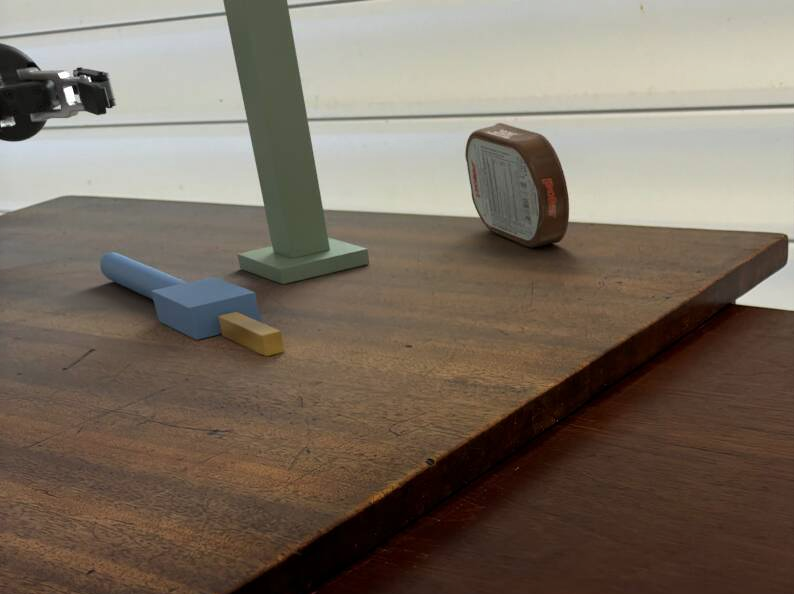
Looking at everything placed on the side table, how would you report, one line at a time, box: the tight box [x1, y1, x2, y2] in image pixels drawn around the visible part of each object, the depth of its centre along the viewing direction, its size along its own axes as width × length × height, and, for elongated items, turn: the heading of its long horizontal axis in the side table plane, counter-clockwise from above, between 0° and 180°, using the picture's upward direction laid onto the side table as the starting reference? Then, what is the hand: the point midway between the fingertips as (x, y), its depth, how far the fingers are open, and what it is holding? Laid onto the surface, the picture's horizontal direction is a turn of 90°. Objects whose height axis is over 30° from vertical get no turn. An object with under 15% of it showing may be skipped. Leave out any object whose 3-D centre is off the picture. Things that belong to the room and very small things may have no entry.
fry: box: [218, 312, 285, 357], centre depth 80 cm, size 7×1×1 cm, turn 38°
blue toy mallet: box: [99, 251, 262, 341], centre depth 90 cm, size 22×5×2 cm, turn 38°
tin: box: [465, 122, 570, 248], centre depth 98 cm, size 15×3×8 cm, turn 27°
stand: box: [222, 0, 370, 285], centre depth 88 cm, size 15×8×31 cm, turn 37°
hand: (47, 108), depth 94 cm, fingers open, 8 cm apart
